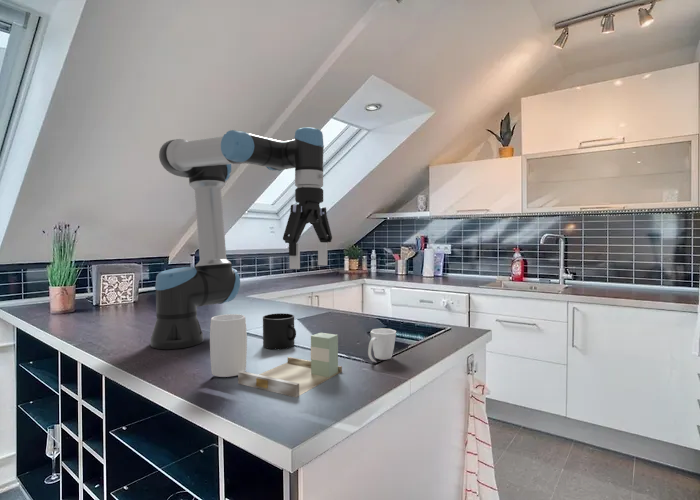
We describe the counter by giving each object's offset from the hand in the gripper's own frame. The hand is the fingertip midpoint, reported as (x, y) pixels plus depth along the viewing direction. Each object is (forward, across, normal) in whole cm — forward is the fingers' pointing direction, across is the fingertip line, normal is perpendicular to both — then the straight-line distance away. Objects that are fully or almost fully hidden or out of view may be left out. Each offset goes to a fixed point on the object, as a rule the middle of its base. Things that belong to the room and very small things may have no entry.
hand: (309, 267), depth 110 cm
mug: (+25, +7, +15) cm, 30 cm away
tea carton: (+24, -10, -11) cm, 28 cm away
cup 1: (+25, -20, +10) cm, 34 cm away
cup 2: (+25, +6, -18) cm, 32 cm away
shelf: (+25, -16, -6) cm, 30 cm away
